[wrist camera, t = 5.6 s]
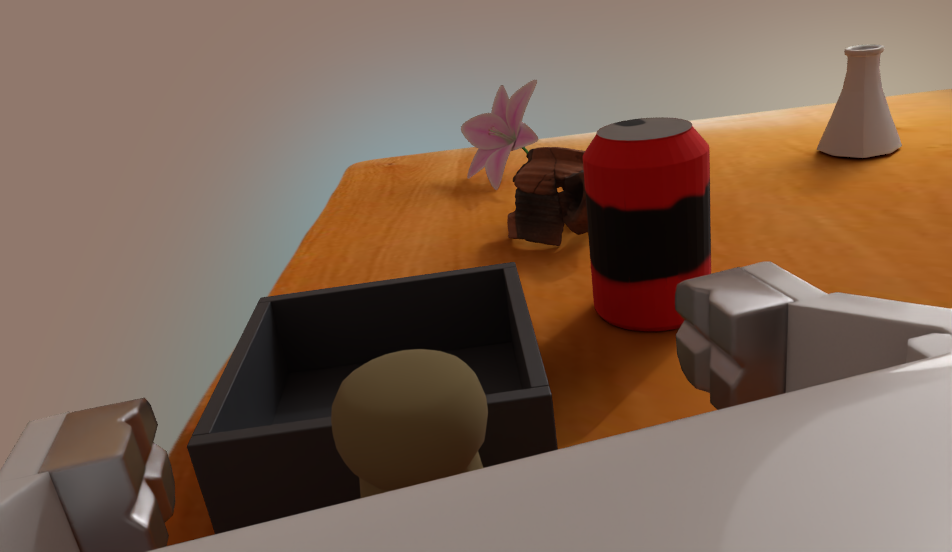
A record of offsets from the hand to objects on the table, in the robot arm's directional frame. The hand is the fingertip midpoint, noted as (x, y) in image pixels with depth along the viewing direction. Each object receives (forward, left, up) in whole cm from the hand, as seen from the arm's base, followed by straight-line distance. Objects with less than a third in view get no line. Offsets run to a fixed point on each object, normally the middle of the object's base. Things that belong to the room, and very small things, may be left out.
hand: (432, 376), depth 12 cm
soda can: (-34, -17, -17) cm, 42 cm away
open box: (-15, -21, -17) cm, 31 cm away
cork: (-7, -10, -17) cm, 21 cm away
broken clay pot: (-44, -31, -17) cm, 57 cm away
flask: (-74, -17, -17) cm, 78 cm away
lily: (-56, -48, -17) cm, 76 cm away
